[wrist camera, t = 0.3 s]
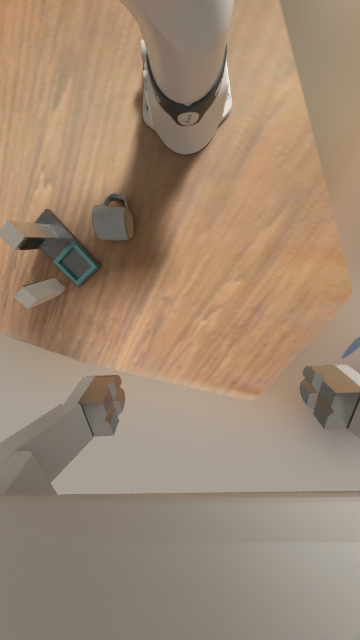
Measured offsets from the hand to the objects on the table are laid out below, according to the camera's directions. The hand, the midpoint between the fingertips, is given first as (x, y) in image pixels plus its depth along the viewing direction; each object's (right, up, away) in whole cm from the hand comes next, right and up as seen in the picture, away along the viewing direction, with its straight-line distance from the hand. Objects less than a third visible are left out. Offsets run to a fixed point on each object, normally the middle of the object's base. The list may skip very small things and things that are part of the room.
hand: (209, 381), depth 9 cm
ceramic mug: (-18, +29, +41) cm, 53 cm away
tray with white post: (-33, +22, +44) cm, 59 cm away
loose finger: (-38, +13, +48) cm, 63 cm away
